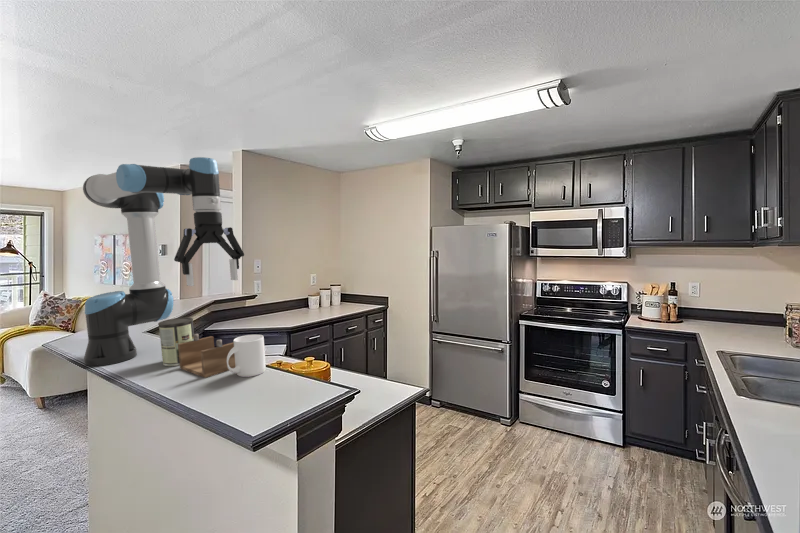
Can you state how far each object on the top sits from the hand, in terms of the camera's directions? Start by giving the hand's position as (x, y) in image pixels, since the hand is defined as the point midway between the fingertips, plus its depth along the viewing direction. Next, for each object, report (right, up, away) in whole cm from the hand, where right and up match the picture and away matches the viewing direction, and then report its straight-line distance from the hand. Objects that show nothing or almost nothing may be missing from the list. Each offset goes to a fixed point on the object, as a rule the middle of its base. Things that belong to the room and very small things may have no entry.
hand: (213, 282), depth 122 cm
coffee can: (-19, -28, +16) cm, 37 cm away
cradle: (-5, -28, +8) cm, 29 cm away
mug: (+10, -28, +1) cm, 30 cm away
